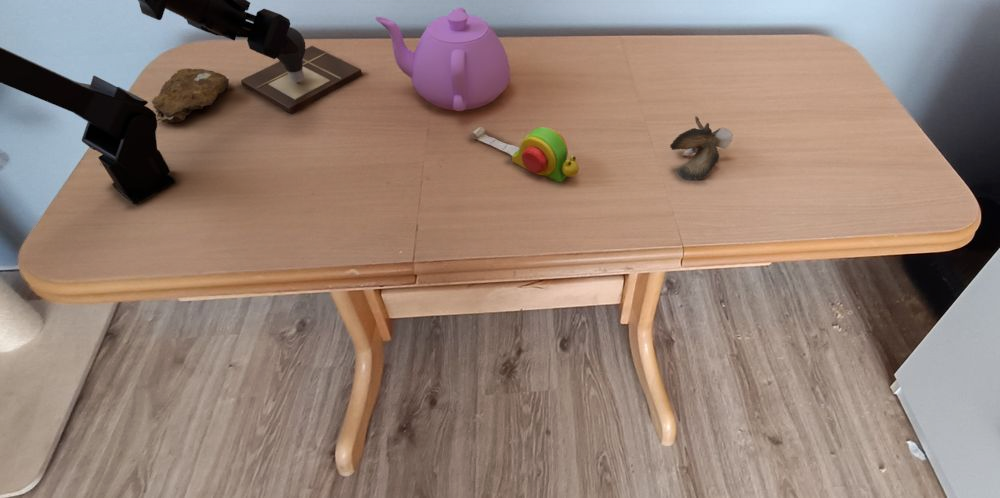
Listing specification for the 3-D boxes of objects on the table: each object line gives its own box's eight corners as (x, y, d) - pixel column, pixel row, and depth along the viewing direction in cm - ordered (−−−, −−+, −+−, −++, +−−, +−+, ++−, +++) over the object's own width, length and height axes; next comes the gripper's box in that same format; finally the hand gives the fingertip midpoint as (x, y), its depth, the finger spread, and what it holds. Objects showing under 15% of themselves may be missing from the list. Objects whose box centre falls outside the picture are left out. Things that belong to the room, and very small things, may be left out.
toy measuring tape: (563, 195, 85) (567, 159, 80) (462, 144, 93) (460, 109, 88) (587, 173, 88) (592, 137, 83) (488, 126, 96) (487, 91, 92)
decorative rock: (211, 131, 96) (240, 85, 107) (204, 109, 93) (234, 64, 104) (141, 128, 96) (176, 82, 106) (131, 106, 93) (169, 61, 103)
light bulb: (311, 71, 106) (297, 17, 98) (317, 87, 102) (303, 32, 95) (280, 77, 104) (263, 23, 97) (284, 93, 101) (267, 39, 93)
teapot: (392, 60, 111) (381, -13, 101) (506, 57, 111) (507, -16, 101) (381, 129, 96) (366, 51, 86) (513, 125, 96) (514, 47, 86)
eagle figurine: (676, 131, 93) (656, 151, 87) (712, 103, 88) (693, 122, 82) (706, 167, 94) (688, 190, 87) (744, 142, 88) (727, 164, 82)
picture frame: (291, 114, 99) (289, 107, 98) (242, 86, 105) (240, 79, 104) (362, 75, 107) (361, 68, 106) (313, 51, 113) (311, 44, 112)
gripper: (260, -42, 77) (336, 9, 92) (172, -70, 84) (255, -18, 98) (231, 38, 78) (311, 76, 93) (147, 4, 85) (233, 45, 100)
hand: (277, 42), depth 96 cm, fingers open, 9 cm apart
